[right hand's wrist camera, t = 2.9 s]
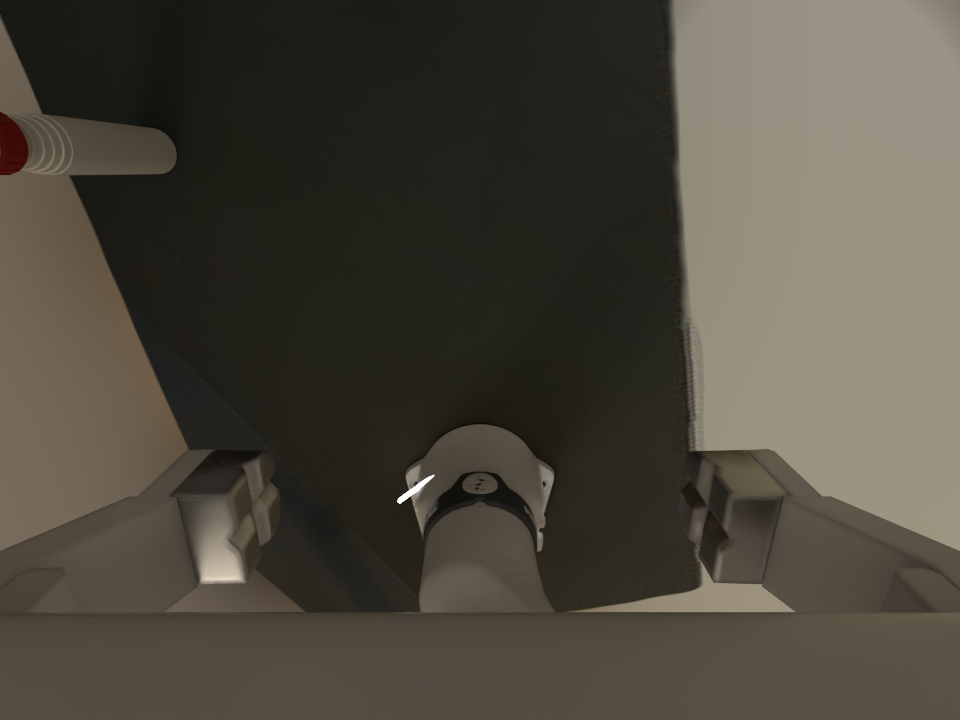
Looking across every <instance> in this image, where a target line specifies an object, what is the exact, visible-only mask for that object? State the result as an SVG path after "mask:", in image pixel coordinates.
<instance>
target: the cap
mask: <svg viewBox="0 0 960 720" xmlns="http://www.w3.org/2000/svg"><path fill="white" fill-rule="evenodd" d="M28 155H29V149H28V143H27V140H26V137H25V135H24V133H23V132H22V130H21V129H20V127H19V126H18V125H17V124H16V123H15V122H14V121H13V120H12V119H11V118H10V117H8V116H7V115H5V114H3V113H1V112H0V175H11V174H13V173H16V172H18V171H20V170H21V169H22V168H23V167H24V166H25V164H26V162H27V159H28Z"/></svg>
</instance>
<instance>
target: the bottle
mask: <svg viewBox="0 0 960 720" xmlns="http://www.w3.org/2000/svg"><path fill="white" fill-rule="evenodd" d="M8 117H10V118H11V119H12V120H13V121H14V122H15V123H16V124H17V125H18V126H19V127H20V129H21V130H22V132H23V133H24V135H25V137H26V140H27V143H28V149H29V155H28V159H27V162H26V164H25V166H24V167H23V168H22V169H21V170H24V171H28V172H33V173H37V174H46V175H115V174H163V173H167V172H168V171H170V170H171V169H172V168H173V167H174V165H175V163H176V159H177V153H176V148H175V146H174V144H173V142H172V140H171V139H170V138H169V137H168V136H167V135H166V134H165V133H164V132H162V131H160V130H158V129H154V128H147V127H139V126H131V125H123V124H116V123H108V122H100V121H92V120H84V119H76V118H68V117H60V116H52V115H45V114H21V115H13V116H8Z"/></svg>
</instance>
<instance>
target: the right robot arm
mask: <svg viewBox="0 0 960 720" xmlns="http://www.w3.org/2000/svg"><path fill="white" fill-rule="evenodd" d="M275 471H276V470H275V465H274V460H273V456H272V455H271V454H270V453H269V451H249V450H215V449H211V450H189V451H186V452H184V453H183V454H182V455H181V456H180V457H179V458H178V459H177V460H176V461H175V462H174V463H173V464H172V465H171V466H170V467H169V468H168V469H166V470H165V471H164V472H163V473H162V474H161V475H160V476H159V477H158V478H157V479H156V480H155V481H154V482H153V483H152V484H150V485H149V486H148V487H147V488H146V489H145V490H144V491H143V492H142V493H141V494H140V495H139V496H138V497H127V498H125V499H122V500H120V501H118V502H115V503H113V504H110V505H108V506H106V507H103V508H101V509H99V510H96V511H94V512H92V513H89V514H87V515H84V516H82V517H80V518H77V519H75V520H73V521H70V522H68V523H66V524H63V525H61V526H58V527H56V528H54V529H51V530H49V531H47V532H44V533H42V534H39V535H37V536H35V537H32V538H30V539H28V540H25V541H23V542H21V543H18V544H16V545H13V546H11V547H9V548H6V549H4V550H2V551H0V720H960V551H958V550H956V549H953V548H951V547H949V546H946V545H944V544H942V543H939V542H937V541H934V540H932V539H930V538H927V537H925V536H923V535H920V534H918V533H916V532H913V531H911V530H908V529H906V528H904V527H901V526H899V525H897V524H894V523H892V522H890V521H887V520H885V519H883V518H880V517H878V516H875V515H873V514H871V513H868V512H866V511H864V510H861V509H859V508H857V507H854V506H852V505H849V504H847V503H845V502H842V501H840V500H838V499H835V498H833V497H822V496H821V495H820V494H819V493H818V492H817V491H816V490H815V489H814V488H813V487H812V486H811V485H810V484H809V483H807V482H806V481H805V480H804V479H803V478H802V477H801V476H800V475H799V474H798V473H797V472H796V471H795V470H794V469H793V468H792V467H790V466H789V465H788V464H787V463H786V462H785V461H784V460H783V459H782V458H781V457H780V456H779V455H778V454H777V453H776V452H774V451H771V450H768V449H762V450H726V451H694V452H690V453H689V455H688V457H687V459H686V465H685V470H684V471H685V473H686V474H687V476H688V477H689V479H690V480H691V481H690V482H689V483H688V484H687V485H686V486H685V487H684V488H683V489H682V490H681V497H680V505H679V507H680V517H681V522H682V525H683V528H684V531H685V533H686V535H687V536H688V538H689V540H691V541H693V542H694V543H696V544H697V545H699V546H700V551H699V558H700V559H701V561H702V563H703V565H704V566H705V568H706V570H707V572H708V573H709V575H710V577H711V579H712V580H713V582H714V583H740V584H763V585H762V586H763V587H764V588H765V589H766V590H768V591H769V592H770V593H772V594H773V595H774V596H776V597H777V598H778V599H779V600H781V601H782V602H783V603H785V604H786V605H787V606H789V607H790V608H791V609H793V610H794V611H795V612H555V610H554V609H553V608H552V606H551V605H550V603H549V602H548V600H547V598H546V596H545V594H544V591H543V587H542V584H541V580H540V576H539V572H538V567H537V562H536V555H537V551H541V550H542V546H543V533H541V532H539V530H540V528H544V526H545V516H544V512H545V509H546V505H547V502H548V498H549V495H550V491H551V488H552V485H553V481H554V471H553V469H552V468H551V467H550V466H549V465H548V464H546V463H544V462H543V461H541V460H539V459H537V458H536V457H535V456H534V455H533V453H532V452H531V450H530V449H529V448H528V446H527V445H526V444H525V443H524V442H523V441H522V440H521V439H520V438H519V437H518V436H516V435H515V434H513V433H512V432H510V431H508V430H506V429H503V428H500V427H497V426H493V425H486V424H474V425H467V426H463V427H460V428H457V429H454V430H452V431H450V432H448V433H447V434H445V435H444V436H442V437H441V438H440V439H439V440H438V441H437V442H436V443H435V444H434V445H433V446H432V448H431V449H430V451H429V452H428V453H427V455H426V456H425V457H424V458H423V459H421V460H419V461H417V462H416V463H414V464H412V465H411V466H410V467H409V468H408V469H407V471H406V481H407V484H408V488H409V492H407V493H406V494H404V495H403V496H402V497H400V498H399V499H398V502H399V503H401V502H402V501H404V500H405V499H407V498H408V497H409V496H411V498H412V502H413V505H414V509H415V512H416V516H417V519H418V523H419V526H420V529H421V533H422V539H423V543H422V544H423V545H422V549H423V555H424V564H423V571H422V579H421V586H420V593H419V606H420V611H421V612H165V611H166V610H168V609H169V608H170V607H172V606H173V605H174V604H175V603H177V602H178V601H179V600H181V599H182V598H183V597H185V596H186V595H187V594H188V593H190V592H191V591H193V590H194V589H195V588H196V587H197V586H198V585H197V584H219V583H246V582H247V580H248V579H249V577H250V575H251V573H252V572H253V570H254V568H255V566H256V565H257V563H258V561H259V559H260V558H261V551H260V546H261V545H263V544H264V543H266V542H267V541H269V540H271V538H272V536H273V534H274V533H275V531H276V529H277V525H278V521H279V517H280V496H279V490H278V489H277V488H276V487H275V486H274V485H273V484H272V483H271V482H270V481H269V480H270V479H271V477H272V476H273V474H274V473H275ZM415 482H418V483H417V484H416V483H415ZM543 482H545V483H544V484H543Z"/></svg>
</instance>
